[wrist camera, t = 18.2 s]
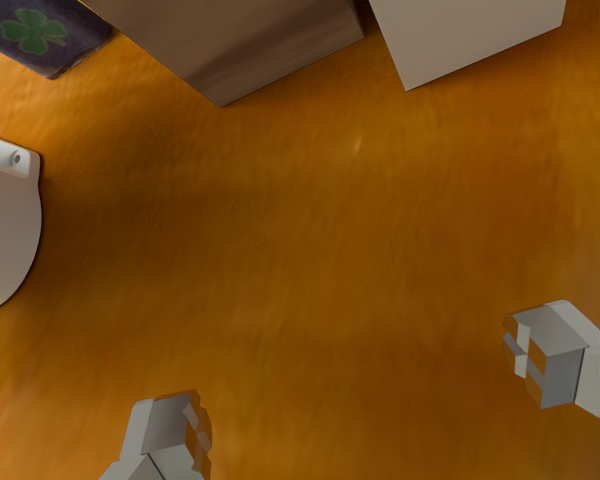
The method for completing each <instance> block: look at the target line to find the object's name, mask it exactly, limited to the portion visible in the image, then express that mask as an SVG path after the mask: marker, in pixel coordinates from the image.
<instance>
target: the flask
mask: <svg viewBox="0 0 600 480" xmlns="http://www.w3.org/2000/svg"><path fill="white" fill-rule="evenodd" d="M113 35H114V34H113V30H112V26H111V25H110V24H109V23H107V22H106V21H105V20H103V19H102V18H101V17H100V16H98V15H97V14H96V13H94V12H93V11H92V10H90V9H89V8H87V7H86V6H85V5H83V4H82V3H81V2H79V1H78V0H0V52H1V53H3V54H4V55H6V56H8V57H10V58H12V59H13V60H15V61H17V62H19V63H20V64H22V65H24V66H26V67H28V68H29V69H31V70H33V71H34V72H36V73H38V74H39V75H41V76H43V77H45V78H47V79H55V78H57V77H59V76H61V75H63V74H62V72H64V71H66V70H68V69H70V68H72V67H74V66H76V65H77V64H78V63H80V62H81V60H82V59H83V57H85V56H86V55H87V56H88V57H89V55H90V54H91V52H93V51H96V50H97V51H98V49H99V48H100V47H102V46H104V45H107V44H108V42H109V41H110V39H111V37H112V36H113Z"/></svg>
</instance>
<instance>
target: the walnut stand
mask: <svg viewBox="0 0 600 480" xmlns="http://www.w3.org/2000/svg"><path fill="white" fill-rule="evenodd" d="M80 1H82V2H83V3H84V4H86V5H87V6H88V7H89V8H91V9H92V10H93V11H95V12H96V13H97V14H99V15H100V16H101V17H102V18H104V19H105V20H106V21H108V22H109V23H110V24H112V25H113V26H114V27H115V28H117V29H118V30H119V31H121V32H122V33H123V34H124V35H126V36H127V37H128V38H130V39H131V40H132V41H134V42H135V43H136V44H137V45H139V46H140V47H141V48H143V49H144V50H145V51H147V52H148V53H149V54H150V55H152V56H153V57H154V58H156V59H157V60H158V61H159V62H161V63H162V64H163V65H165V66H166V67H167V68H169V69H170V70H171V71H172V72H174V73H175V74H176V75H178V76H179V77H180V78H182V79H183V80H184V81H185V82H187V83H188V84H189V85H191V86H192V87H193V88H195V89H196V90H197V91H198V92H200V93H201V94H202V95H204V96H205V97H206V98H207V99H209V100H210V101H211V102H213V103H214V104H215V105H217V106H218V107H219V108H221V107H223V106H225V105H227V104H229V103H231V102H233V101H235V100H237V99H239V98H241V97H243V96H245V95H248V94H250V93H252V92H254V91H256V90H258V89H260V88H262V87H264V86H266V85H268V84H270V83H272V82H274V81H276V80H279V79H281V78H283V77H285V76H287V75H289V74H291V73H293V72H295V71H297V70H299V69H301V68H303V67H305V66H307V65H309V64H312V63H314V62H316V61H318V60H320V59H322V58H324V57H326V56H328V55H330V54H332V53H334V52H336V51H338V50H340V49H343V48H345V47H347V46H349V45H351V44H353V43H355V42H357V41H359V40H361V39H363V38H365V37H364V34H363V31H362V27H361V24H360V21H359V17H358V14H357V10H356V7H355V4H354V0H80Z"/></svg>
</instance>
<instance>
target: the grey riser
mask: <svg viewBox="0 0 600 480" xmlns="http://www.w3.org/2000/svg"><path fill="white" fill-rule="evenodd" d="M369 2H370V5H371V7H372V10H373V12H374V14H375V17H376V19H377V22H378V24H379V27H380V29H381V32H382V34H383V37H384V39H385V41H386V44H387V46H388V49H389V51H390V54H391V56H392V59H393V61H394V64H395V66H396V69H397V71H398V73H399V76H400V78H401V81H402V83H403V86H404V88H405V91H408V90H411V89H413V88H415V87H418V86H420V85H422V84H425V83H427V82H429V81H432V80H434V79H437V78H439V77H441V76H444V75H446V74H448V73H451V72H453V71H455V70H458V69H460V68H463V67H465V66H467V65H470V64H472V63H474V62H477V61H479V60H481V59H484V58H486V57H489V56H491V55H493V54H496V53H498V52H500V51H503V50H505V49H507V48H510V47H512V46H515V45H517V44H519V43H522V42H524V41H526V40H529V39H531V38H533V37H536V36H538V35H541V34H543V33H545V32H548V31H550V30H552V29H555V28H557V27H559V26H561V24H562V19H563V14H564V9H565V4H566V0H369Z"/></svg>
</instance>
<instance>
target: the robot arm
mask: <svg viewBox="0 0 600 480" xmlns="http://www.w3.org/2000/svg"><path fill="white" fill-rule="evenodd" d="M39 171H40V157H39V154H38V153H36V152H34V151H31V150H29V149H26V148H23V147H21V146H18V145H15V144H12V143H10V142H7V141H4V140H1V139H0V305H1V304H2V303H3V302H5V301H6V300H7V299H8V298H9V297H10V296H11V295H12V294H13V293H14V292H15V291H16V289H17V288H18V287H19V285H20V284H21V283H22V281H23V279H24V278H25V276H26V274H27V272H28V270H29V268H30V266H31V264H32V261H33V259H34V256H35V253H36V250H37V246H38V242H39V237H40V230H41V203H40V197H39V192H38V178H39ZM503 326H504V327H505V328H506V330H507V331H508V332H507V333H506V334H505V335H504V337H503V338H502V348H503V352H504V355H505V359H506V361H507V363H508V365H509V366H510V368H511V369H512V371H513V372H514V373H515V374H516V375H518V376H520V377H522V378H524V379H525V389H526V390H527V391H528V393H529V394H530V395H531V397H532V398H533V399H534V401H535V402H536V404H537V405H538V406H539V408H540V409H543V408H547V407H552V406H557V405H562V404H566V403H571V402H575V404H577V405H578V406H580V407H582V408H583V409H585V410H587V411H588V412H590V413H592V414H593V415H595V416H596V417H598V418H600V329H598V328H597V327H596V326H595V325H594V324H593V323H592V322H591V321H590V320H589V319H588V318H586V317H585V316H584V315H583V314H582V313H581V312H580V311H579V310H578V309H577V308H576V307H574V306H573V305H572V304H571V303H570V302H569V301H567V300H564V299H562V300H558V301H554V302H550V303H546V304H544V305H538V306H534V307H530V308H526V309H522V310H518V311H514V312H510V313H506V314H505V316H504V319H503ZM211 447H212V428H211V422H210V418H209V415H208V413H207V411H206V409H204V408H202V407H200V396H199V394H198V393H197V391H196V390H195V389H192V390H187V391H182V392H178V393H173V394H168V395H164V396H159V397H156V398H151V399H147V400H142V401H137V402H136V403H135V405H134V406H133V408H132V412H131V415H130V419H129V423H128V427H127V431H126V435H125V439H124V442H123V446H122V450H121V454H120V458H119V461H116V462H113V463H112V464H111V465H110V466H109V468H108V469H107V470H106V471H105V472H104V474H103V475H102V476H101V477H100V478H99V480H210V471H211V462H210V460H209V458H208V456H207V453H208V452H209V450H210V449H211Z"/></svg>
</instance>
